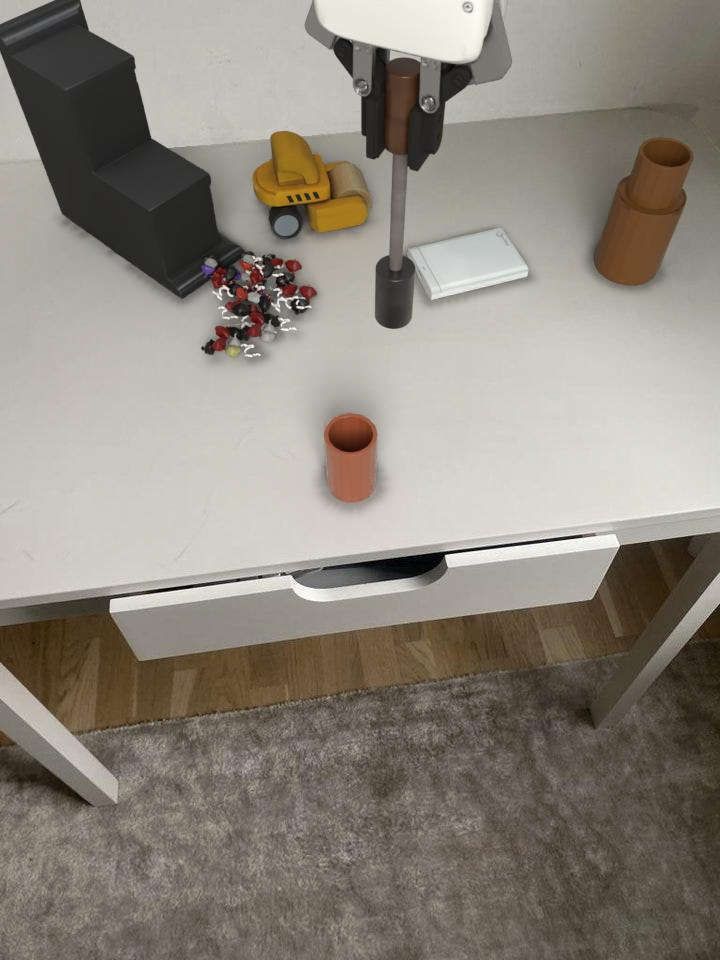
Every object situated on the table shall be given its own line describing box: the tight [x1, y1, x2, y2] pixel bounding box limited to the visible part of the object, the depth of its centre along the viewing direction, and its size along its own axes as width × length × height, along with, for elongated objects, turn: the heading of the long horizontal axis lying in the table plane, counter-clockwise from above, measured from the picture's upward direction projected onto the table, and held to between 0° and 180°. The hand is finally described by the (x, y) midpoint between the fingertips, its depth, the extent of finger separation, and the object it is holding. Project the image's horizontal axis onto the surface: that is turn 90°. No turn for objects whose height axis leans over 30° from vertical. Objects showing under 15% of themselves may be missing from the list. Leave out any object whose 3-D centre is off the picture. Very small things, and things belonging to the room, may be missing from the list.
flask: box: [593, 136, 695, 286], centre depth 87 cm, size 8×8×15 cm
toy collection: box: [200, 250, 318, 358], centre depth 87 cm, size 15×14×5 cm
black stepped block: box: [0, 0, 246, 299], centre depth 86 cm, size 23×11×24 cm, turn 49°
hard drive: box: [406, 227, 530, 301], centre depth 92 cm, size 2×8×12 cm
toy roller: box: [252, 130, 373, 240], centre depth 94 cm, size 9×14×10 cm, turn 103°
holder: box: [323, 412, 378, 504], centre depth 72 cm, size 5×5×8 cm
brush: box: [374, 56, 421, 330], centre depth 53 cm, size 3×3×20 cm
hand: (400, 151), depth 49 cm, fingers closed on brush, 2 cm apart
